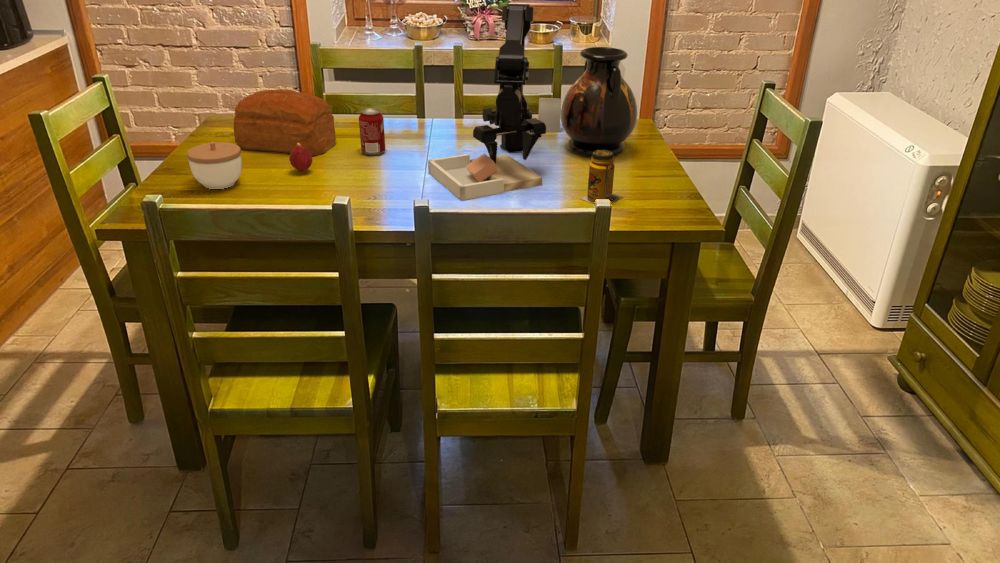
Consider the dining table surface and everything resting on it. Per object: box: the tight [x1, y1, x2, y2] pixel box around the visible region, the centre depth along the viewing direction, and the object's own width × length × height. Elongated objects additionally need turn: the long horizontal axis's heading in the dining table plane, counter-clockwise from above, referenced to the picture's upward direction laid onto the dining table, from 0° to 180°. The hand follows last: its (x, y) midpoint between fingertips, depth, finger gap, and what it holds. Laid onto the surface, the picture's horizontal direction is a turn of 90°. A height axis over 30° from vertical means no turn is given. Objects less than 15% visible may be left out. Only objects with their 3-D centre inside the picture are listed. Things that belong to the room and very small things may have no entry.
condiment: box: [580, 150, 624, 204], centre depth 179 cm, size 7×8×12 cm
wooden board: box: [470, 153, 543, 193], centre depth 194 cm, size 11×20×2 cm, turn 27°
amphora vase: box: [560, 46, 638, 158], centre depth 207 cm, size 22×22×28 cm
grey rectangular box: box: [537, 97, 562, 133], centre depth 227 cm, size 4×7×10 cm, turn 87°
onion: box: [289, 143, 313, 173], centre depth 193 cm, size 6×6×8 cm
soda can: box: [358, 107, 386, 156], centre depth 206 cm, size 7×7×12 cm
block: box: [466, 153, 498, 182], centre depth 190 cm, size 6×6×3 cm
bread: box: [233, 88, 337, 156], centre depth 209 cm, size 16×27×16 cm, turn 77°
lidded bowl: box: [186, 141, 243, 190], centre depth 183 cm, size 13×13×11 cm
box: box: [427, 153, 505, 201], centre depth 189 cm, size 12×21×4 cm, turn 27°
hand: (509, 162), depth 193 cm, fingers open, 9 cm apart
